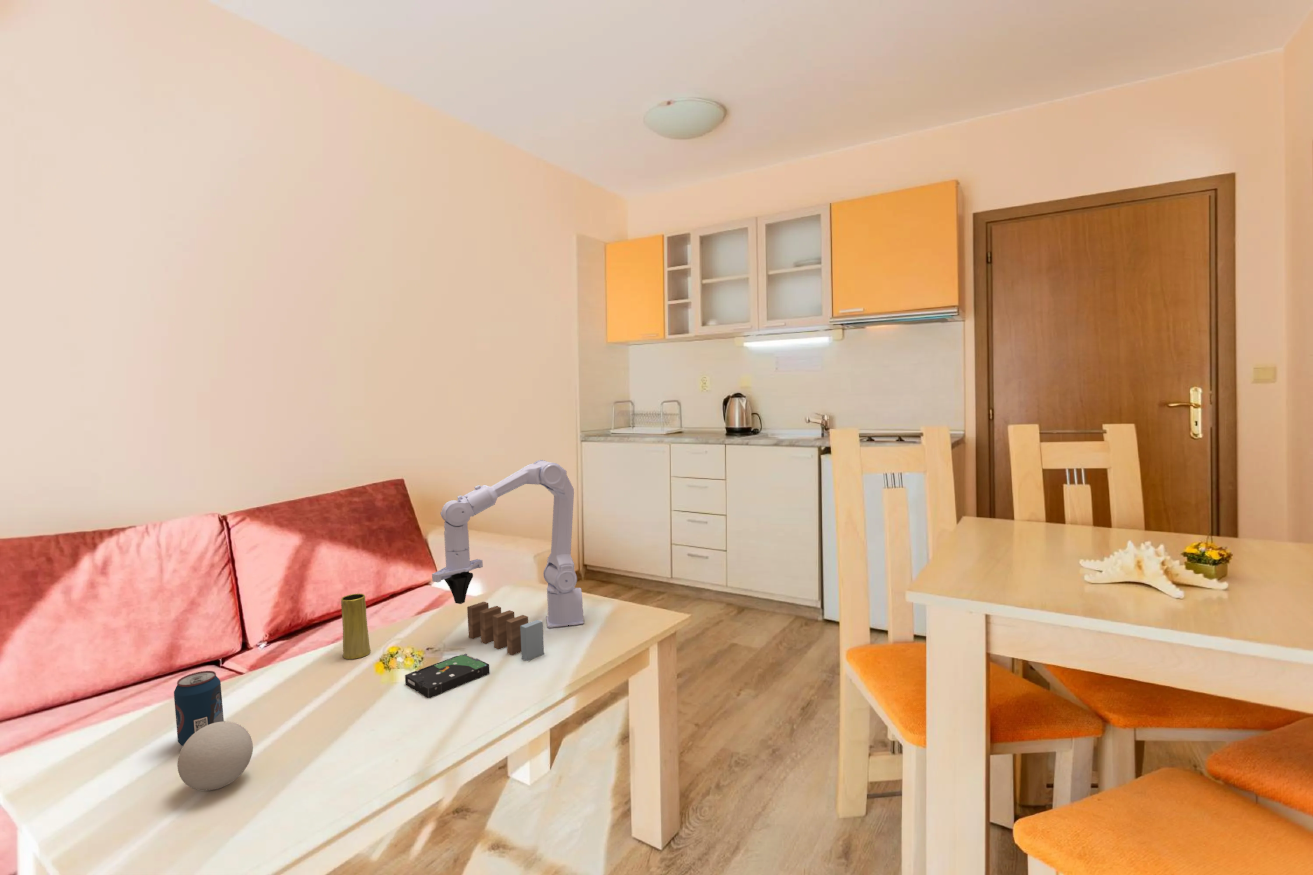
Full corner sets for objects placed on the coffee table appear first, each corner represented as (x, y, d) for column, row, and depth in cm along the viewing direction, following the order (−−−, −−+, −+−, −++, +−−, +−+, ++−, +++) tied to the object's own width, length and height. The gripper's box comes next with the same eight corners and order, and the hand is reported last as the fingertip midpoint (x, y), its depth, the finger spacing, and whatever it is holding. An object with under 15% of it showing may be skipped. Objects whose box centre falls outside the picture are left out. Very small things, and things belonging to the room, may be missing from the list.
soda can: (178, 739, 116) (172, 676, 116) (223, 726, 121) (218, 665, 120) (178, 756, 111) (172, 690, 110) (226, 741, 115) (220, 678, 114)
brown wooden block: (515, 643, 157) (514, 611, 157) (498, 649, 154) (497, 617, 153) (510, 641, 159) (509, 610, 158) (493, 647, 155) (492, 615, 154)
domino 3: (529, 648, 154) (528, 616, 153) (512, 655, 150) (510, 622, 150) (524, 646, 155) (522, 614, 155) (507, 653, 151) (505, 620, 151)
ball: (167, 809, 96) (161, 747, 96) (197, 772, 106) (193, 714, 105) (240, 798, 99) (235, 736, 98) (264, 762, 108) (260, 706, 108)
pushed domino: (489, 632, 165) (488, 602, 164) (473, 638, 161) (471, 608, 160) (485, 631, 166) (483, 601, 165) (468, 637, 162) (467, 606, 162)
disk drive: (429, 701, 130) (490, 675, 141) (428, 688, 129) (490, 663, 141) (404, 687, 136) (464, 662, 148) (403, 674, 136) (464, 651, 147)
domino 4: (544, 654, 150) (542, 621, 150) (527, 661, 146) (525, 627, 146) (538, 652, 152) (537, 619, 151) (521, 659, 148) (520, 625, 147)
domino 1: (502, 637, 161) (501, 607, 160) (485, 644, 157) (484, 612, 157) (497, 636, 162) (496, 605, 162) (481, 642, 159) (479, 611, 158)
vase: (337, 657, 151) (333, 599, 150) (357, 647, 157) (354, 591, 156) (356, 661, 149) (352, 602, 148) (376, 650, 155) (372, 594, 154)
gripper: (445, 557, 148) (448, 614, 149) (490, 544, 161) (492, 596, 162) (424, 554, 152) (427, 609, 153) (470, 541, 164) (472, 592, 165)
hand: (459, 602), depth 157 cm, fingers closed
